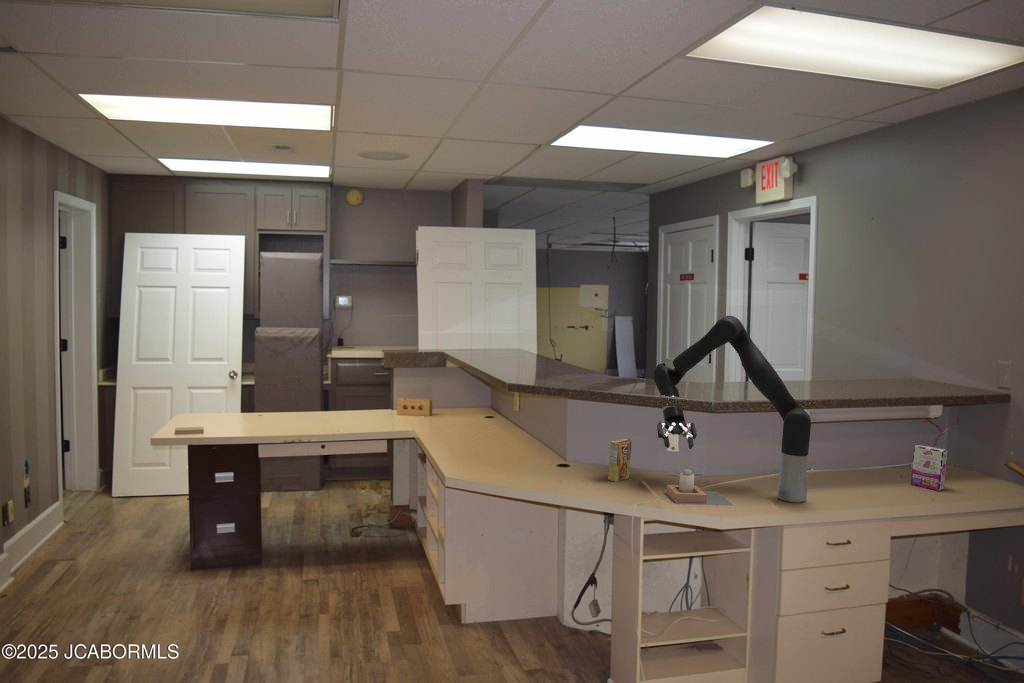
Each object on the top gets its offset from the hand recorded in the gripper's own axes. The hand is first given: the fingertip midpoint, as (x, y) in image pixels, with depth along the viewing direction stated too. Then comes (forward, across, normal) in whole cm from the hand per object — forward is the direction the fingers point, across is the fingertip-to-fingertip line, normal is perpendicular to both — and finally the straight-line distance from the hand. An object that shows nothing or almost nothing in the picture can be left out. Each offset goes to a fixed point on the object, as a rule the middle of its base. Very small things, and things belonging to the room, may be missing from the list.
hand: (679, 447), depth 275 cm
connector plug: (+19, 0, +4) cm, 19 cm away
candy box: (+1, -18, +23) cm, 29 cm away
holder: (+19, +4, +5) cm, 20 cm away
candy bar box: (+1, +109, +23) cm, 111 cm away
